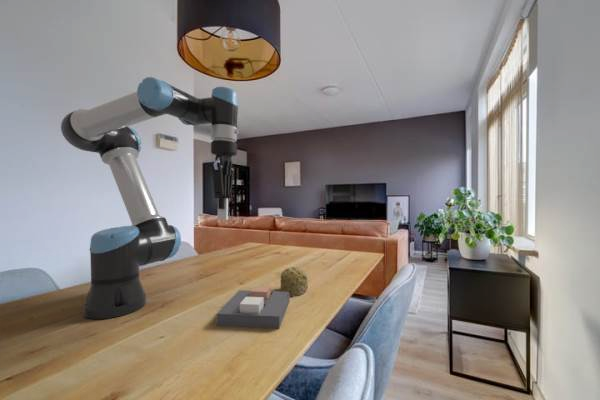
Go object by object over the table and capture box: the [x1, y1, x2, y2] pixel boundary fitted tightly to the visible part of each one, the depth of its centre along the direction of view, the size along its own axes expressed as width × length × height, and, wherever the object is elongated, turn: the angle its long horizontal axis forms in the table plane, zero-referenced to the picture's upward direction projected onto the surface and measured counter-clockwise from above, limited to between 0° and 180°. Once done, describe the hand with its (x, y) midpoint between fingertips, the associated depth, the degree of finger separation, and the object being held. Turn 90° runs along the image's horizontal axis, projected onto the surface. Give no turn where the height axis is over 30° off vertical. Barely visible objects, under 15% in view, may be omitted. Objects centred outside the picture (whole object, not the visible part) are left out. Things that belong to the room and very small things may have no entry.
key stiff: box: [249, 285, 272, 300], centre depth 79 cm, size 5×5×4 cm
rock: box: [280, 266, 309, 297], centre depth 92 cm, size 10×11×10 cm
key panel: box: [216, 289, 290, 329], centre depth 75 cm, size 16×17×3 cm
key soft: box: [240, 297, 264, 314], centre depth 70 cm, size 5×5×4 cm
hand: (222, 219), depth 81 cm, fingers closed
